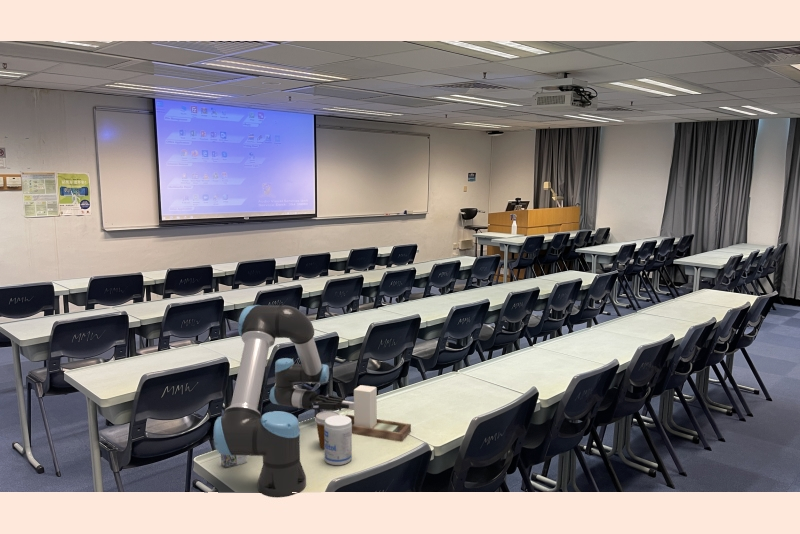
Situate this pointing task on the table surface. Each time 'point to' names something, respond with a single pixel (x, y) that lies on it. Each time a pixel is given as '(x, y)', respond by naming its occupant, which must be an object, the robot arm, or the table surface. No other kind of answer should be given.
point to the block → (365, 406)
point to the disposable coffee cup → (323, 424)
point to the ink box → (232, 460)
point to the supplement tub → (338, 440)
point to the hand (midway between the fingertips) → (357, 406)
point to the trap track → (383, 430)
